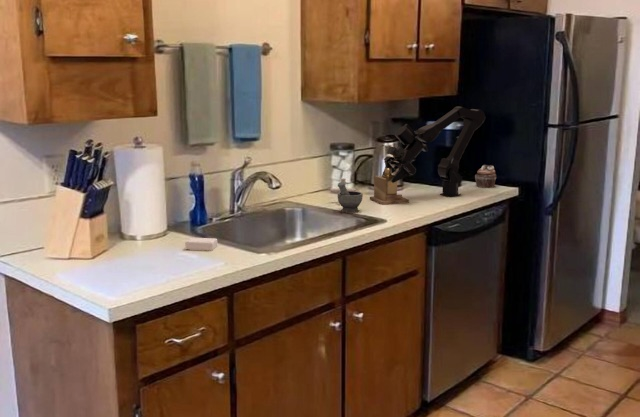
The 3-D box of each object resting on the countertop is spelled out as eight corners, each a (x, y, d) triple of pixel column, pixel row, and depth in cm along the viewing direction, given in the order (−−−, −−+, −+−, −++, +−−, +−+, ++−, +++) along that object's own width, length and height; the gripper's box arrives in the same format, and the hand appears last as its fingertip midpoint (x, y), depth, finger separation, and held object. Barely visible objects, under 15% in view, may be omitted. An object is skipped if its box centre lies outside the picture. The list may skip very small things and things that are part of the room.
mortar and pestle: (350, 207, 266) (350, 177, 264) (367, 210, 260) (367, 180, 257) (330, 211, 259) (329, 181, 256) (347, 215, 252) (347, 184, 249)
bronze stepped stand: (395, 197, 285) (395, 173, 283) (408, 202, 274) (409, 177, 272) (369, 199, 281) (369, 175, 278) (382, 204, 270) (382, 180, 267)
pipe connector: (356, 200, 279) (356, 176, 277) (354, 205, 269) (354, 180, 267) (332, 200, 280) (332, 176, 278) (330, 205, 270) (330, 180, 268)
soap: (218, 247, 211) (217, 238, 210) (212, 252, 206) (212, 242, 205) (191, 246, 212) (190, 236, 212) (184, 250, 207) (184, 241, 206)
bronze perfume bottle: (390, 196, 280) (391, 167, 278) (396, 198, 275) (397, 168, 273) (381, 197, 279) (381, 167, 276) (387, 199, 274) (387, 169, 271)
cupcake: (475, 184, 314) (476, 163, 312) (496, 185, 311) (497, 163, 309) (473, 187, 305) (474, 166, 303) (495, 188, 302) (496, 166, 300)
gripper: (388, 136, 282) (364, 164, 280) (410, 141, 265) (384, 170, 263) (404, 154, 286) (381, 181, 285) (426, 160, 269) (402, 189, 268)
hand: (386, 180), depth 275 cm, fingers open, 9 cm apart
